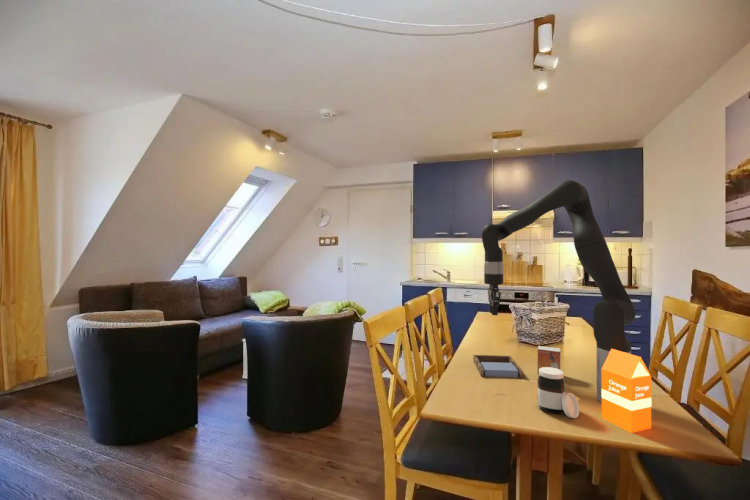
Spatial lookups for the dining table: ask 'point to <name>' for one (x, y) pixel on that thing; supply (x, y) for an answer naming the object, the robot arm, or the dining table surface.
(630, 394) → the orange juice
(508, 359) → the walnut tray
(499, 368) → the cover plate
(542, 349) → the small box
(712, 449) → the dining table surface
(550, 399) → the spread jar
